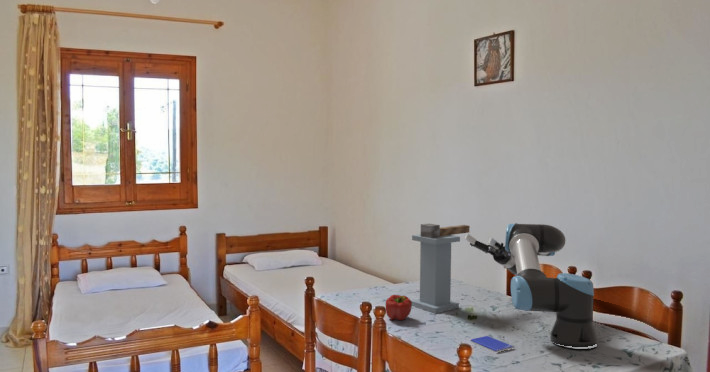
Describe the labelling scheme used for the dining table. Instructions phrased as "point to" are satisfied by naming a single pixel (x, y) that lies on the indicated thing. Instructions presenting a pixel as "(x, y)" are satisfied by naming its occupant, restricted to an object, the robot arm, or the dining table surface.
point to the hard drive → (491, 344)
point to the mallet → (442, 230)
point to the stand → (435, 273)
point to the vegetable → (398, 307)
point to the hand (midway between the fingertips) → (477, 238)
